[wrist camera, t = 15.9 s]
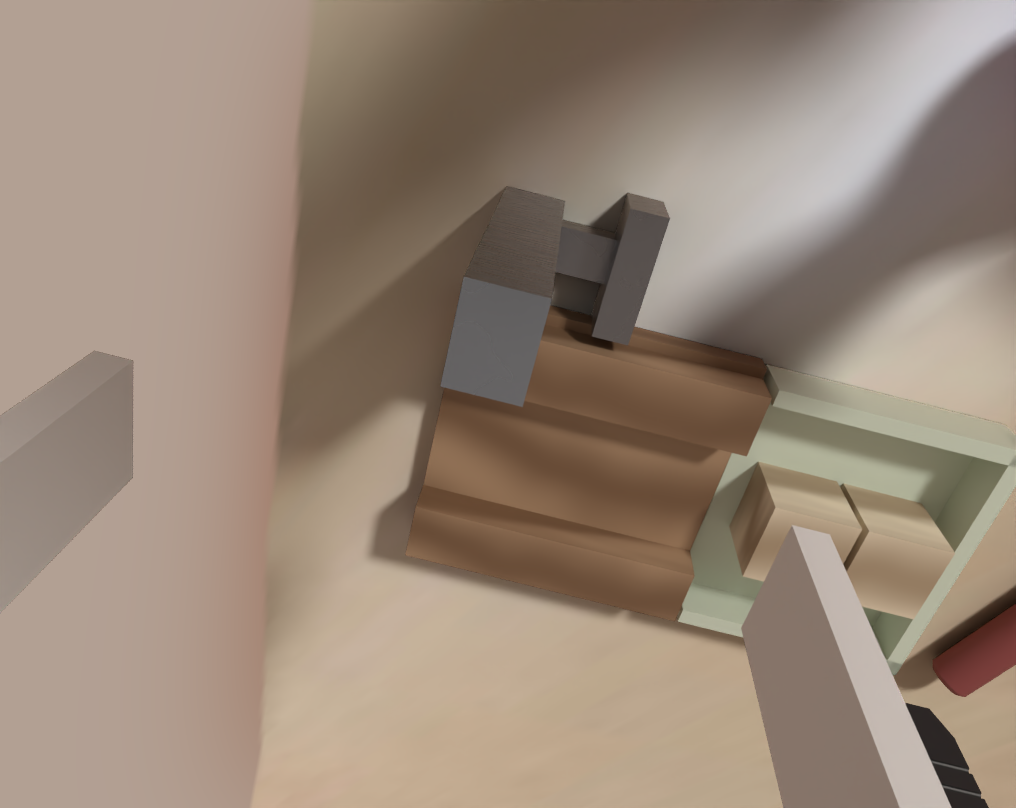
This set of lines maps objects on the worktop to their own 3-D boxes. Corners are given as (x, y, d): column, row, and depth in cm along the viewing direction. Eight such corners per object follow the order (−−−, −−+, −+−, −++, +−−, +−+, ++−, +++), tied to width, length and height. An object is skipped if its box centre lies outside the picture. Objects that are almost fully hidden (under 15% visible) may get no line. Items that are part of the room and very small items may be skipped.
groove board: (468, 284, 36) (458, 308, 33) (761, 358, 37) (776, 388, 34) (416, 525, 43) (403, 562, 40) (666, 587, 43) (671, 628, 40)
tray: (766, 364, 37) (779, 390, 34) (1005, 424, 37) (1035, 454, 34) (672, 585, 43) (677, 621, 40) (877, 636, 43) (895, 675, 41)
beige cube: (758, 461, 38) (775, 507, 35) (837, 481, 39) (862, 529, 35) (729, 526, 40) (742, 576, 37) (804, 545, 40) (825, 596, 37)
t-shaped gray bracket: (511, 163, 34) (471, 242, 22) (663, 201, 34) (701, 301, 22) (484, 285, 36) (434, 414, 25) (625, 320, 36) (641, 466, 25)
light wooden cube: (843, 483, 39) (869, 531, 35) (921, 503, 39) (955, 553, 35) (810, 547, 40) (831, 598, 37) (885, 565, 40) (913, 619, 37)
